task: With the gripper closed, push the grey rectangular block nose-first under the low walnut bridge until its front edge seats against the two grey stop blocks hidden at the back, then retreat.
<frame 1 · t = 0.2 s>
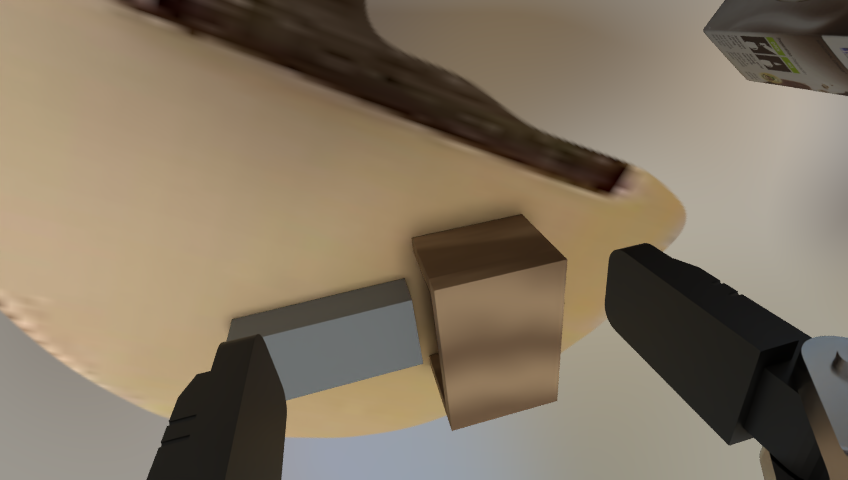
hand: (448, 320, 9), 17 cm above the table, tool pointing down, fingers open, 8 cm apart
walnut bridge: (472, 296, 32), on the table
grey rectangular block: (330, 326, 31), on the table
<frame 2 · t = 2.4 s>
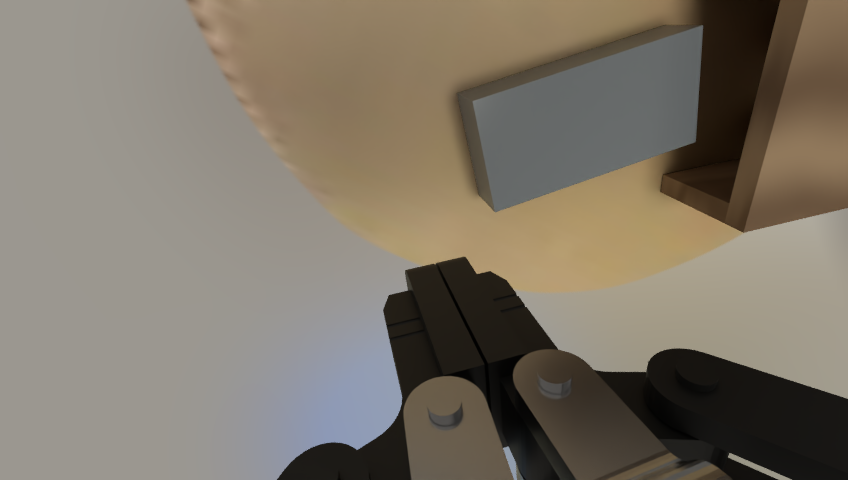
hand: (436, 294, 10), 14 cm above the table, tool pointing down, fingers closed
walnut bridge: (735, 83, 25), on the table
grey rectangular block: (564, 112, 24), on the table
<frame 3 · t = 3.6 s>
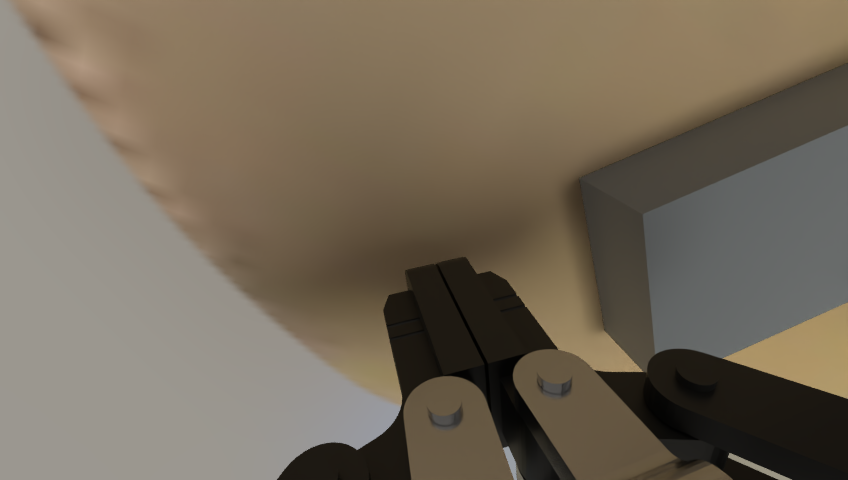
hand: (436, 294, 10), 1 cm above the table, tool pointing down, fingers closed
grey rectangular block: (754, 183, 14), on the table
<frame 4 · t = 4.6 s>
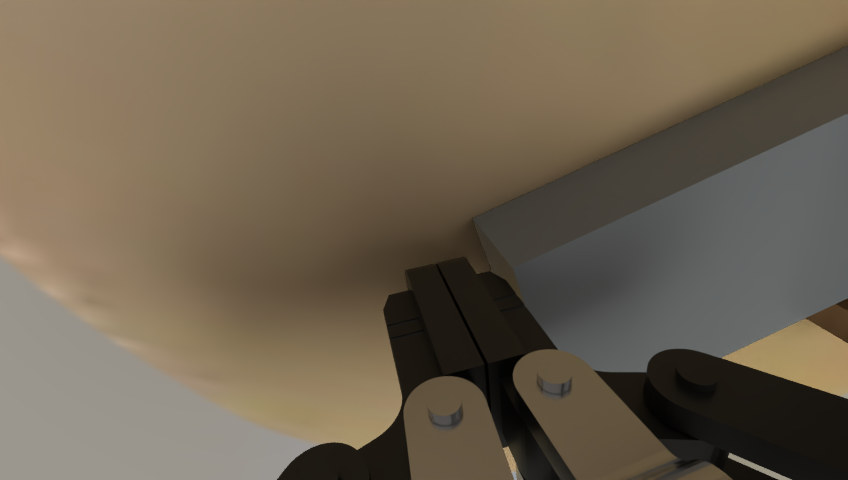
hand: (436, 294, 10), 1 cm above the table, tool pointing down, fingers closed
grey rectangular block: (672, 213, 13), on the table, touching gripper
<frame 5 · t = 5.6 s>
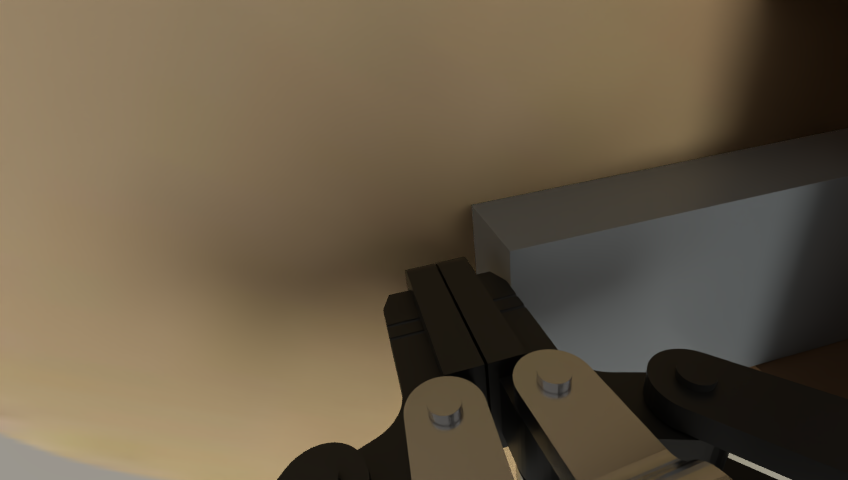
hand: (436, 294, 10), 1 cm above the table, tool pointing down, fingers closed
walnut bridge: (831, 161, 13), on the table
grey rectangular block: (648, 248, 14), on the table, touching gripper
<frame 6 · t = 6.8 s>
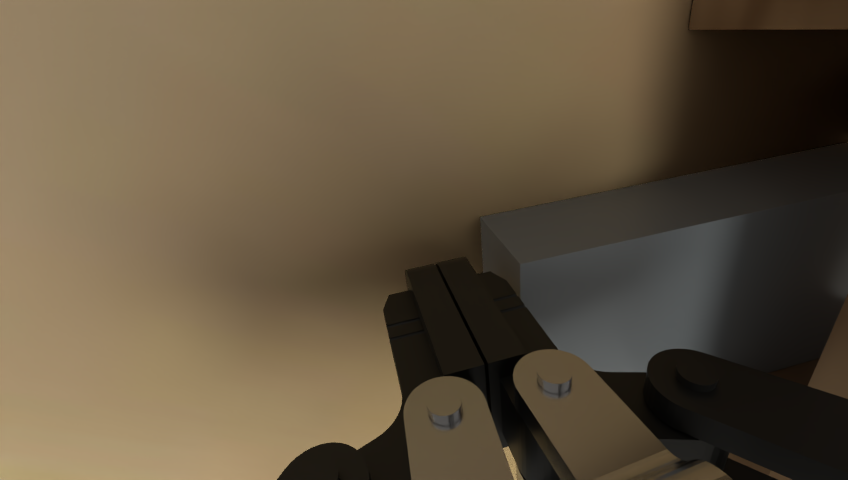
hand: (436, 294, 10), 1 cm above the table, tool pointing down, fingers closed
walnut bridge: (772, 188, 13), on the table
grey rectangular block: (652, 258, 14), on the table
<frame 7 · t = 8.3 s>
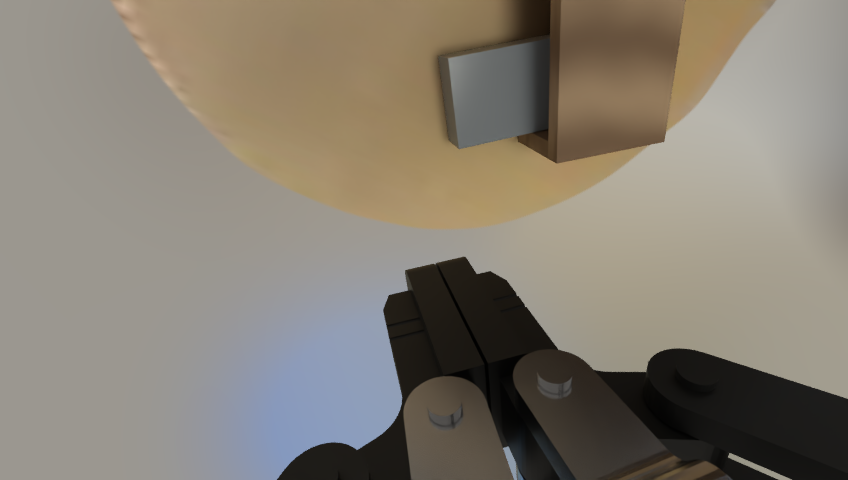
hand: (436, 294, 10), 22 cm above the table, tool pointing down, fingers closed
walnut bridge: (567, 48, 31), on the table
grey rectangular block: (518, 83, 31), on the table
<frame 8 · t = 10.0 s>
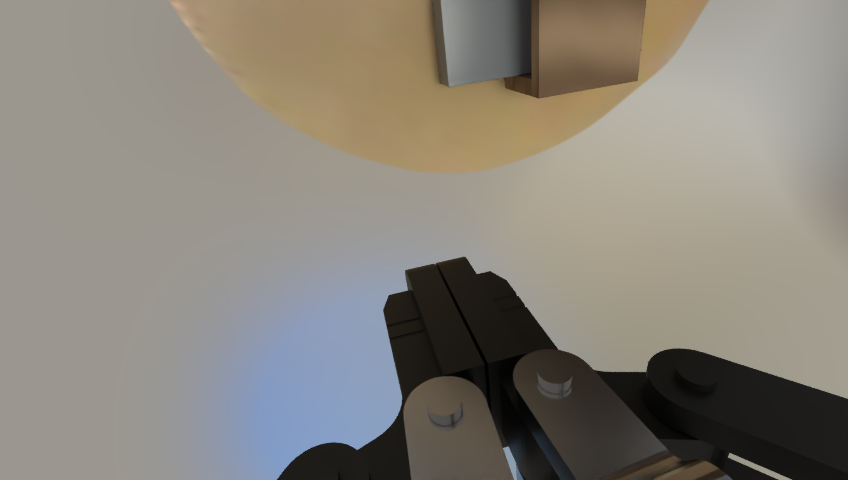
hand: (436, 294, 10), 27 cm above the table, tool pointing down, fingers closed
grey rectangular block: (505, 32, 34), on the table
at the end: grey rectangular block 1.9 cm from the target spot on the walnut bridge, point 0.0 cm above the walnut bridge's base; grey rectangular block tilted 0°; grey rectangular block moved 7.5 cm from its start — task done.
